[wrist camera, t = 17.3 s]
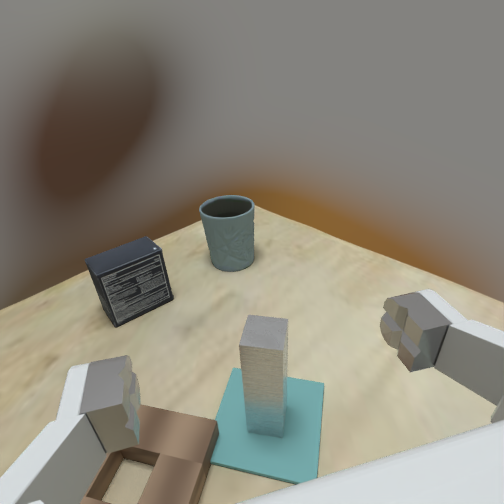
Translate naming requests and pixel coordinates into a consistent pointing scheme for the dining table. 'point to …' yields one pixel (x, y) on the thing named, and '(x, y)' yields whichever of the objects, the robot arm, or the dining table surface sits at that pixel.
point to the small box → (130, 280)
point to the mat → (267, 447)
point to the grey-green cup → (229, 231)
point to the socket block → (164, 457)
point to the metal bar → (265, 374)
